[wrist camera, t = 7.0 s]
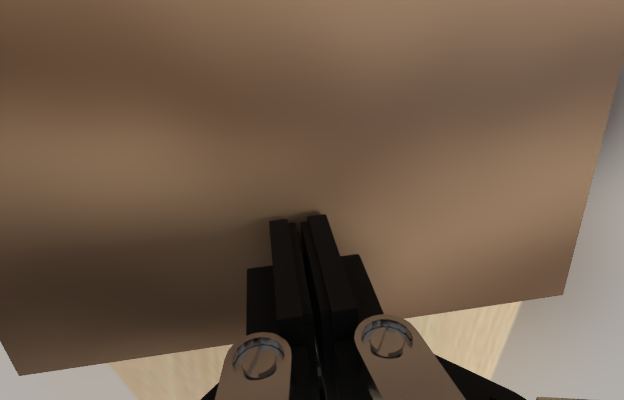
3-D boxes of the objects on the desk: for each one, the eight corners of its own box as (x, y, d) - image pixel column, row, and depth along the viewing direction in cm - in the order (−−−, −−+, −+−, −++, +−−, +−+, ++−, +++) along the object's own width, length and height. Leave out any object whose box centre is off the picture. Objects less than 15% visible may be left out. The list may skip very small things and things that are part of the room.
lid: (-263, -342, 7) (-431, -458, 5) (647, -338, 9) (746, -425, 7) (57, 348, 15) (29, 395, 13) (523, 281, 16) (557, 314, 14)
